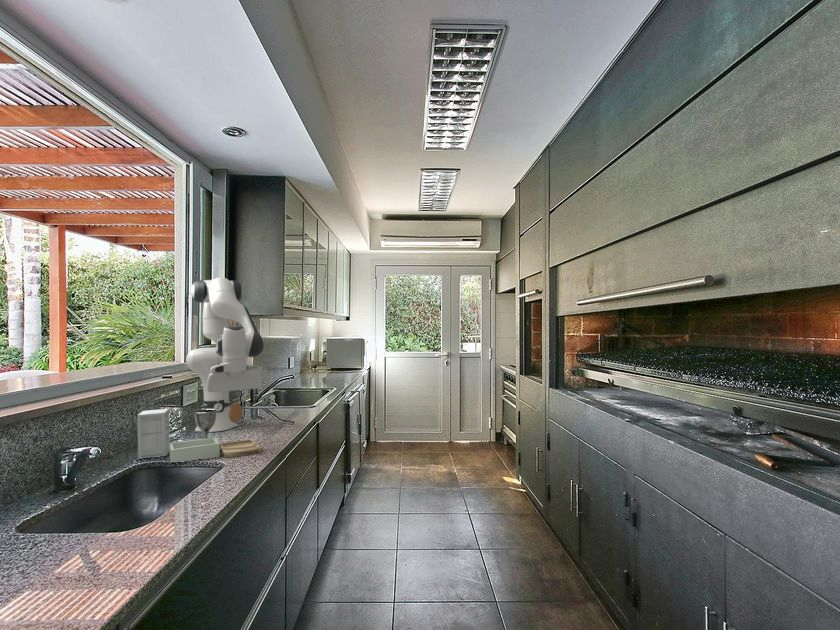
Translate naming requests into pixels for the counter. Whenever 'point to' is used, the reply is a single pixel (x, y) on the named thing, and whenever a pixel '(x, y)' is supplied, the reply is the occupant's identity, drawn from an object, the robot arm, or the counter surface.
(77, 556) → the counter surface
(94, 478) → the counter surface
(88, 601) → the counter surface
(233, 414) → the egg
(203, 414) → the wine glass
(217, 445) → the bin
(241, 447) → the tray
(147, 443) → the supplement box
